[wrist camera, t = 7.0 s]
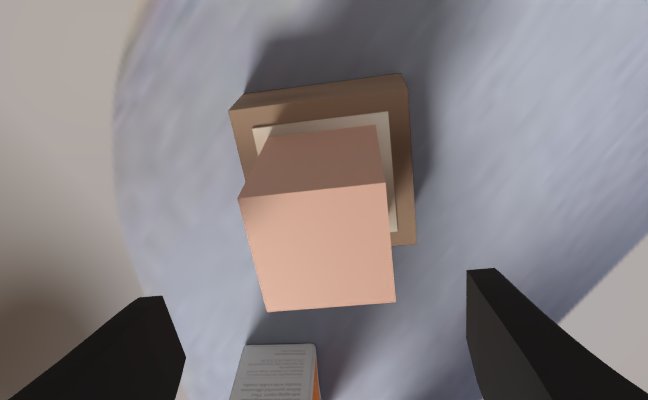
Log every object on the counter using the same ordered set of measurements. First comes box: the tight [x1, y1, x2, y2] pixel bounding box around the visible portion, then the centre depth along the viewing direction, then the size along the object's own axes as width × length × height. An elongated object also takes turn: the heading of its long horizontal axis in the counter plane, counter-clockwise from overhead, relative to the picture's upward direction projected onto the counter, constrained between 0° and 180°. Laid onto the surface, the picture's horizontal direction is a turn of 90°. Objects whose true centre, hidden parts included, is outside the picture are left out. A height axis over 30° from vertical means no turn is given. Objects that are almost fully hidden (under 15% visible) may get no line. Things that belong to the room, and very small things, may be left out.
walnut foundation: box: [228, 73, 417, 246], centre depth 18 cm, size 6×6×3 cm
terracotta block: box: [237, 125, 396, 312], centre depth 15 cm, size 4×4×5 cm
